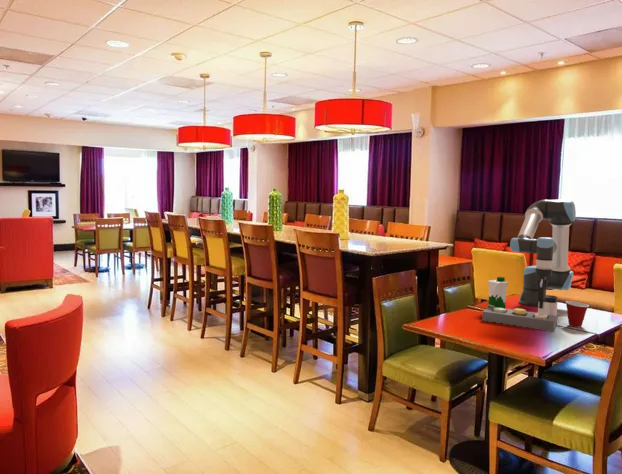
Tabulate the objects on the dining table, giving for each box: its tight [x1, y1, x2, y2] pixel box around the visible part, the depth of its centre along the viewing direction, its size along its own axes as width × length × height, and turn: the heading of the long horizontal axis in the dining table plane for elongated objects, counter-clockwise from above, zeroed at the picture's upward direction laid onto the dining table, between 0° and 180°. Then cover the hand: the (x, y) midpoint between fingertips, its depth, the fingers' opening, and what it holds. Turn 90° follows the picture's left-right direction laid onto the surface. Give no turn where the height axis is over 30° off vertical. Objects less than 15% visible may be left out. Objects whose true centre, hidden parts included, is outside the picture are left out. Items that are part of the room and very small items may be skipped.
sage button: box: [494, 308, 507, 313], centre depth 263 cm, size 6×6×2 cm
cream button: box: [534, 312, 547, 319], centre depth 252 cm, size 6×6×2 cm
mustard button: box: [513, 307, 527, 315], centre depth 257 cm, size 6×6×2 cm
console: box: [481, 306, 559, 332], centre depth 258 cm, size 14×34×5 cm, turn 57°
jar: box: [544, 294, 559, 316], centre depth 268 cm, size 9×8×12 cm
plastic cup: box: [565, 300, 590, 328], centre depth 254 cm, size 11×11×12 cm
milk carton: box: [487, 276, 509, 309], centre depth 278 cm, size 9×9×20 cm
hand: (540, 314), depth 252 cm, fingers closed
